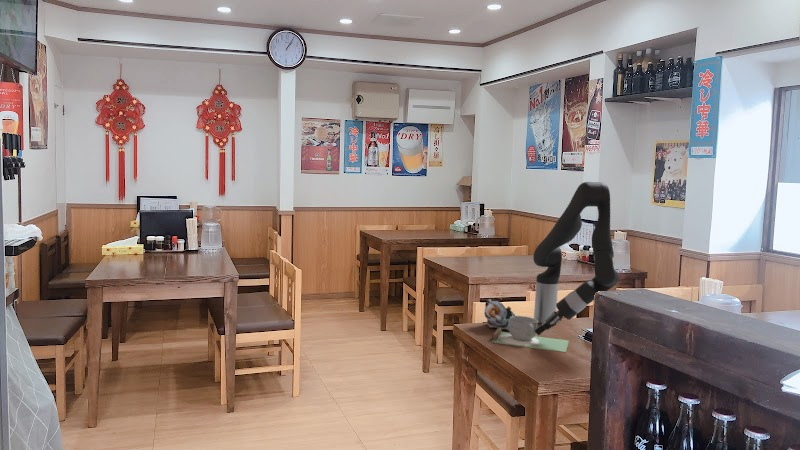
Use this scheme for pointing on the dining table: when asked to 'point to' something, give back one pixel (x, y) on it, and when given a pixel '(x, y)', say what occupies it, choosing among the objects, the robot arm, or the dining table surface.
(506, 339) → the putting green
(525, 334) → the teacup
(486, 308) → the lucky cat figurine
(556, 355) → the dining table surface
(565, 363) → the dining table surface
